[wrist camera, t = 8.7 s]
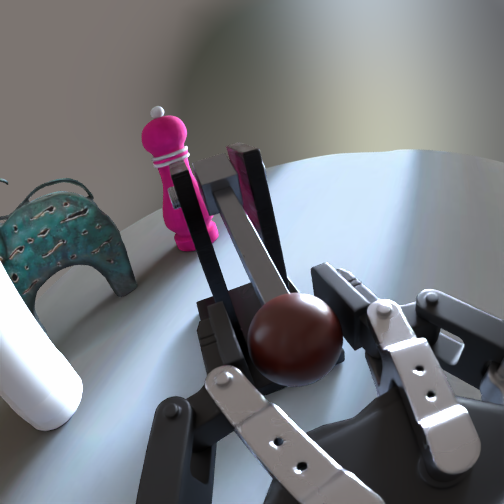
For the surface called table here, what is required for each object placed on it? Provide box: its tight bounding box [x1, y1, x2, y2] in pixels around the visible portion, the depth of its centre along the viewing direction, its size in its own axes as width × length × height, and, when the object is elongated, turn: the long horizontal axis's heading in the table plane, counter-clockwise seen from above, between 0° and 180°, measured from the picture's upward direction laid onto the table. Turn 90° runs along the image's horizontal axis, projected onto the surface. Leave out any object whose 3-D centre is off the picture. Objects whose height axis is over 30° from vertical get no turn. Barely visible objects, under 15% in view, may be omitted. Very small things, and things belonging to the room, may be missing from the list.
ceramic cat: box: [0, 178, 137, 335], centre depth 27 cm, size 20×6×20 cm, turn 131°
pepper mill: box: [142, 106, 218, 251], centre depth 38 cm, size 7×7×20 cm
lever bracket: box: [168, 143, 345, 396], centre depth 21 cm, size 12×9×15 cm
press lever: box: [192, 153, 343, 387], centre depth 14 cm, size 14×4×4 cm, turn 17°
